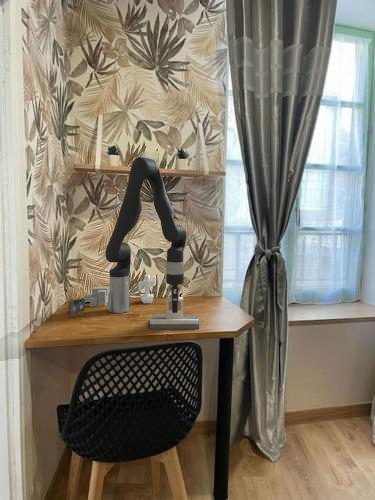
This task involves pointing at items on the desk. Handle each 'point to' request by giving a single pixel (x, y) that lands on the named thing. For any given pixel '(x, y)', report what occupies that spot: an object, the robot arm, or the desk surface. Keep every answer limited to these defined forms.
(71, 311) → the mini dv tape
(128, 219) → the robot arm
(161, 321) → the shelf board
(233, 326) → the desk surface
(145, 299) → the white potted plant
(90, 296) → the grey stepped block
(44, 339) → the desk surface
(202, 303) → the desk surface
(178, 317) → the tea carton
